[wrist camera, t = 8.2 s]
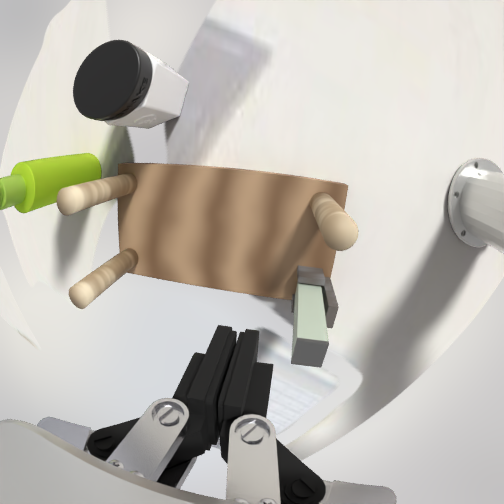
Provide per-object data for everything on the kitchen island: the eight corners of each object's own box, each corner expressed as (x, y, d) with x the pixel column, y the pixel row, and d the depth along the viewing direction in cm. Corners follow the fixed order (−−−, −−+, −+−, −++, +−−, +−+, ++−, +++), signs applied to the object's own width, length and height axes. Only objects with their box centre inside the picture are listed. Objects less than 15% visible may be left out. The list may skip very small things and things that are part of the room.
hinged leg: (298, 275, 33) (319, 278, 32) (294, 294, 34) (315, 297, 33) (297, 340, 21) (328, 344, 21) (291, 363, 22) (321, 367, 22)
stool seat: (344, 183, 31) (382, 205, 18) (322, 296, 36) (335, 369, 23) (126, 162, 33) (52, 175, 20) (128, 266, 38) (70, 313, 25)
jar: (135, 136, 32) (76, 136, 21) (123, 84, 29) (65, 68, 18) (197, 111, 30) (152, 93, 19) (182, 57, 28) (137, 22, 16)
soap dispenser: (110, 159, 33) (-9, 182, 15) (91, 199, 36) (-17, 243, 17) (86, 140, 33) (-28, 152, 14) (68, 179, 35) (-37, 210, 16)
